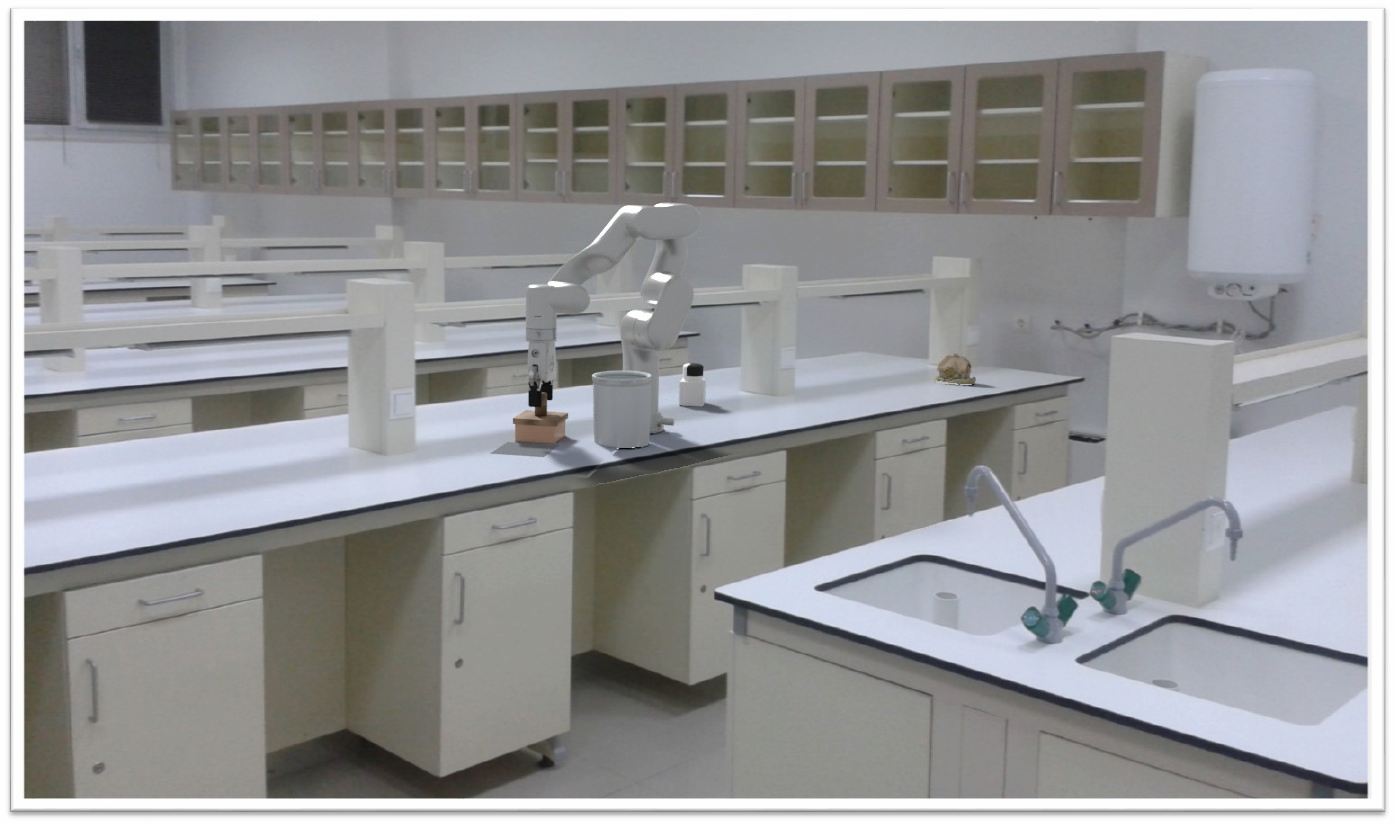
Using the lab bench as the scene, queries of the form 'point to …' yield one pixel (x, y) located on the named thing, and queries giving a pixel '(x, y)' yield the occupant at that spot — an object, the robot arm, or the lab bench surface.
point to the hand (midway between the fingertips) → (540, 403)
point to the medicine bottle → (692, 386)
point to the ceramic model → (955, 370)
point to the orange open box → (539, 433)
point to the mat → (524, 449)
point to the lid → (540, 416)
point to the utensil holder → (621, 408)
